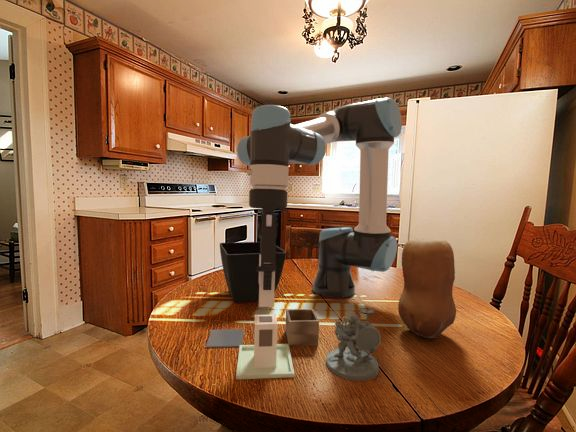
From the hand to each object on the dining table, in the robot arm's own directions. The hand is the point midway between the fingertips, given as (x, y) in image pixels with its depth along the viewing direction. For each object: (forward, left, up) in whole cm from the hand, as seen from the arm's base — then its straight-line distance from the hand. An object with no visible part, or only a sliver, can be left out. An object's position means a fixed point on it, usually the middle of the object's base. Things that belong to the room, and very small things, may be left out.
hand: (265, 293), depth 59 cm
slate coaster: (+9, -10, -15) cm, 20 cm away
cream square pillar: (0, 0, -15) cm, 15 cm away
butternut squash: (-41, -10, -15) cm, 45 cm away
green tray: (0, 0, -15) cm, 15 cm away
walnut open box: (-9, -10, -15) cm, 20 cm away
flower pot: (+4, -40, -15) cm, 43 cm away
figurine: (-18, +2, -15) cm, 24 cm away
